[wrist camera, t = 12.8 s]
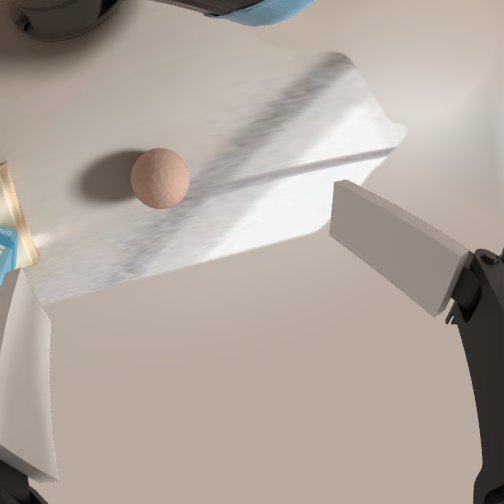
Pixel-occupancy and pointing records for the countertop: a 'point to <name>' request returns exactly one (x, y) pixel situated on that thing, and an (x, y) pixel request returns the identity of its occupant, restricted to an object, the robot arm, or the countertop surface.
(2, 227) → the blue box
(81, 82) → the countertop surface
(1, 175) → the stand
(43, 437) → the robot arm
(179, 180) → the egg
